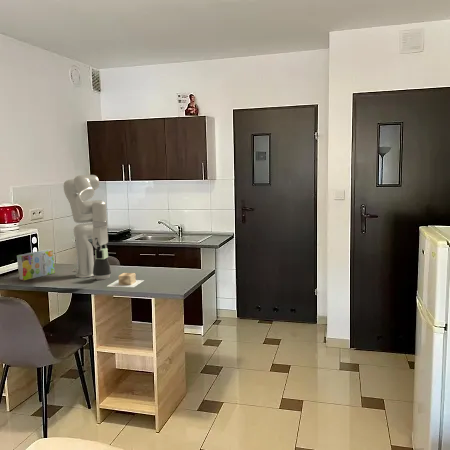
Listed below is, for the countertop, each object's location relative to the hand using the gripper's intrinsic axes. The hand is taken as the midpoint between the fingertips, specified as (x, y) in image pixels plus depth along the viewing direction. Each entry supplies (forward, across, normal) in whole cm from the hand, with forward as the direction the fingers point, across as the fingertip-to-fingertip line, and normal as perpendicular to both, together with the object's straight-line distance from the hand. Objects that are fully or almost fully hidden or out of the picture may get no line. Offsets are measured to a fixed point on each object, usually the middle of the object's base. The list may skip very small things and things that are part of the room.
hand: (101, 256), depth 253 cm
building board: (+16, -2, +12) cm, 20 cm away
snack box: (+17, -16, -52) cm, 57 cm away
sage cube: (+1, 0, 0) cm, 1 cm away
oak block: (+15, -2, +14) cm, 20 cm away
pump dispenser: (+17, -12, -6) cm, 22 cm away
